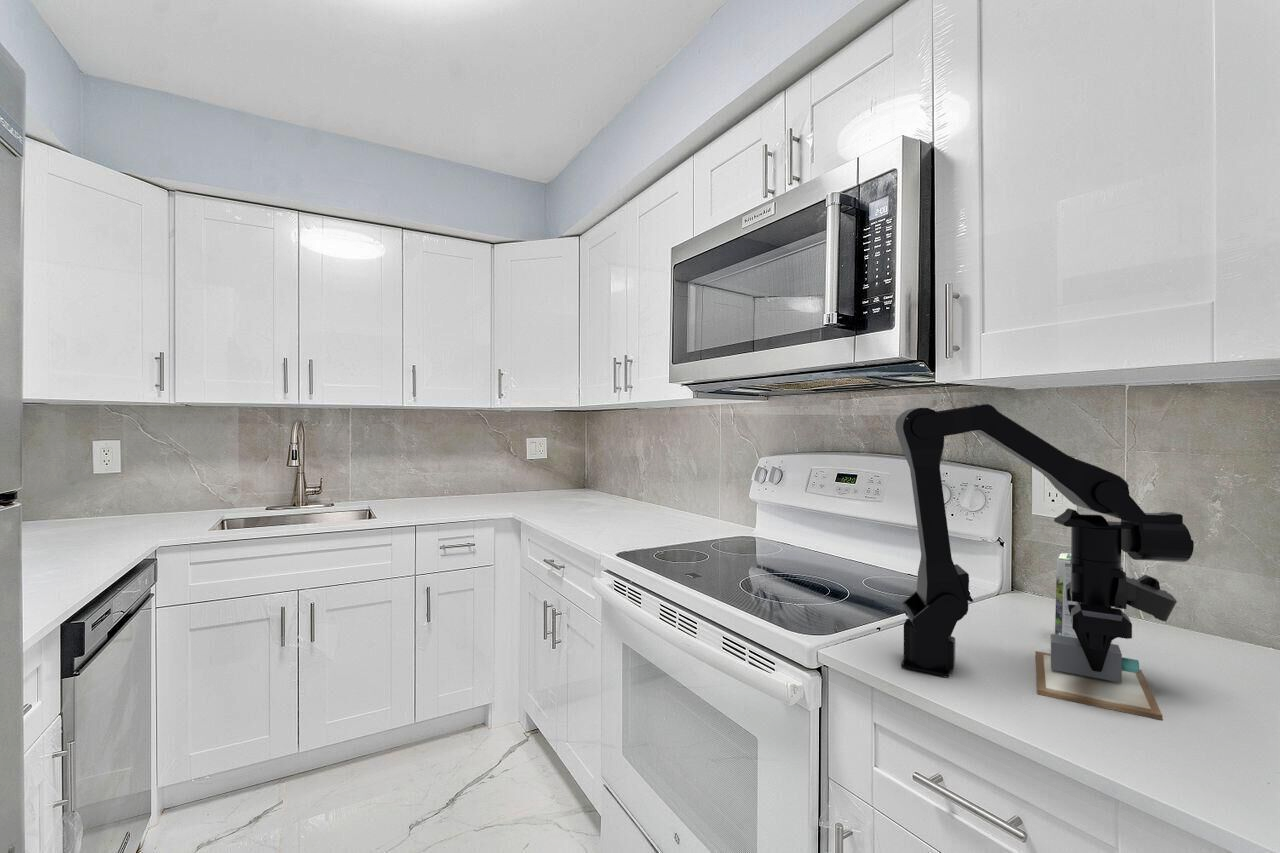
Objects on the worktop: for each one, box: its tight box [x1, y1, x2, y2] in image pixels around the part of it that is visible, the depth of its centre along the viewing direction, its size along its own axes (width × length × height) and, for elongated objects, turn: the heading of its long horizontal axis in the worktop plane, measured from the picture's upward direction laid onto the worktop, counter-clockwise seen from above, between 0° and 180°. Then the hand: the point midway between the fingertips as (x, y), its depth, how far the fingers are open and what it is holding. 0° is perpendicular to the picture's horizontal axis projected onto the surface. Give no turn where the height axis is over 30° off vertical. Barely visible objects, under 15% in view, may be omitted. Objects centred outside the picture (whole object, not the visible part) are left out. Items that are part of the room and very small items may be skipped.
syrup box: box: [1054, 552, 1077, 638], centre depth 99 cm, size 6×6×14 cm
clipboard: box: [1035, 650, 1164, 721], centre depth 84 cm, size 13×16×2 cm
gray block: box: [1050, 633, 1140, 683], centre depth 85 cm, size 10×4×4 cm, turn 56°
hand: (1095, 665), depth 85 cm, fingers closed on gray block, 4 cm apart
